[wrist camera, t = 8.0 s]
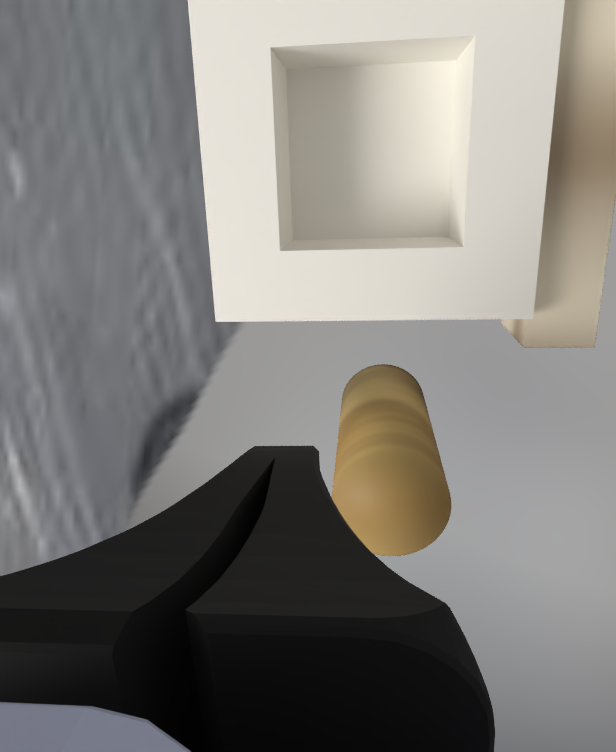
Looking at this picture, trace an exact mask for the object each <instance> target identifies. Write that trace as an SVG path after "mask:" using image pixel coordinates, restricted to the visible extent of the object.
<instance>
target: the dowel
mask: <svg viewBox="0 0 616 752" xmlns="http://www.w3.org/2000/svg"><path fill="white" fill-rule="evenodd" d="M332 500H333V502H334V503H335V505H336V507H337V508H338V510H339V512H340V513H341V515H342V517H343V518H344V520H345V521H346V522H347V524H348V525H349V527H350V528H351V529H352V531H353V532H354V533H355V534H356V536H357V537H358V538H359V539H360V540H361V541H362V543H363V544H364V545H365V546H366V547H367V548H368V549H369V550H370V551H371V552H372V553H373V554H377V555H383V556H401V555H407V554H410V553H414V552H417V551H419V550H421V549H423V548H425V547H426V546H428V545H430V544H431V543H432V542H433V541H435V540H436V539H437V538H438V537H439V536H440V534H441V533H442V532H443V530H444V529H445V527H446V525H447V523H448V520H449V517H450V513H451V497H450V492H449V489H448V485H447V481H446V478H445V474H444V470H443V467H442V463H441V459H440V455H439V452H438V448H437V444H436V440H435V437H434V434H433V429H432V426H431V422H430V419H429V415H428V411H427V407H426V403H425V400H424V396H423V393H422V389H421V387H420V386H419V383H418V382H417V381H416V379H415V378H414V377H413V376H412V375H411V374H409V373H408V372H407V371H405V370H403V369H401V368H399V367H396V366H392V365H374V366H370V367H367V368H365V369H363V370H361V371H360V372H358V373H357V374H355V375H354V376H353V377H352V378H351V379H350V381H349V382H348V384H347V385H346V387H345V389H344V392H343V397H342V405H341V414H340V424H339V433H338V443H337V453H336V462H335V472H334V482H333V491H332Z"/></svg>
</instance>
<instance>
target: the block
mask: <svg viewBox="0 0 616 752" xmlns="http://www.w3.org/2000/svg"><path fill="white" fill-rule="evenodd" d="M564 4H565V0H188V8H189V19H190V31H191V42H192V54H193V65H194V77H195V89H196V100H197V112H198V123H199V135H200V146H201V158H202V169H203V181H204V193H205V204H206V216H207V227H208V239H209V250H210V262H211V273H212V285H213V297H214V308H215V320H216V322H240V321H346V320H347V321H353V320H469V319H470V320H471V319H533V315H534V305H535V295H536V284H537V274H538V264H539V254H540V244H541V234H542V224H543V214H544V204H545V194H546V184H547V174H548V164H549V154H550V144H551V134H552V124H553V114H554V104H555V94H556V84H557V74H558V64H559V54H560V44H561V34H562V24H563V14H564Z"/></svg>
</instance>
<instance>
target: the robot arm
mask: <svg viewBox="0 0 616 752" xmlns="http://www.w3.org/2000/svg"><path fill="white" fill-rule="evenodd" d="M494 739H495V727H494V717H493V709H492V705H491V701H490V698H489V694H488V691H487V688H486V685H485V683H484V680H483V677H482V675H481V672H480V669H479V667H478V665H477V662H476V659H475V657H474V655H473V653H472V651H471V648H470V646H469V644H468V642H467V640H466V638H465V636H464V634H463V632H462V630H461V628H460V626H459V624H458V622H457V620H456V618H455V617H454V615H453V613H452V611H451V610H450V608H449V607H448V605H447V604H446V603H444V602H442V601H441V600H439V599H437V598H435V597H434V596H432V595H430V594H428V593H427V592H425V591H423V590H421V589H419V588H418V587H416V586H414V585H413V584H411V583H409V582H408V581H406V580H405V579H403V578H402V577H400V576H399V575H398V574H396V573H395V572H394V571H392V570H391V569H390V568H388V567H387V566H386V565H385V564H384V563H383V562H381V561H380V560H379V559H378V558H377V557H376V556H375V555H374V554H373V553H372V552H371V551H370V550H369V549H368V548H367V547H366V546H365V545H364V544H363V543H362V541H361V540H360V539H359V538H358V537H357V536H356V534H355V533H354V532H353V531H352V529H351V528H350V527H349V525H348V524H347V522H346V521H345V520H344V518H343V517H342V515H341V513H340V512H339V510H338V508H337V507H336V505H335V503H334V502H333V500H332V498H331V496H330V494H329V492H328V489H327V487H326V485H325V483H324V480H323V478H322V475H321V472H320V465H319V451H318V450H317V449H316V448H315V447H314V446H255V447H253V448H251V449H250V450H248V451H247V452H246V453H244V454H243V455H242V456H240V457H239V458H238V459H237V460H235V461H234V462H233V463H232V464H230V465H229V466H228V467H226V468H225V469H224V470H223V471H221V472H220V473H218V474H217V475H216V476H214V477H213V478H212V479H210V480H209V481H208V482H206V483H205V484H204V485H202V486H201V487H199V488H198V489H196V490H195V491H194V492H192V493H190V494H189V495H187V496H186V497H184V498H183V499H182V500H180V501H178V502H177V503H176V504H174V505H173V506H171V507H169V508H168V509H166V510H164V511H163V512H161V513H159V514H158V515H156V516H154V517H152V518H150V519H148V520H146V521H144V522H143V523H141V524H139V525H137V526H135V527H133V528H131V529H129V530H127V531H125V532H123V533H120V534H118V535H116V536H113V537H111V538H109V539H106V540H104V541H102V542H99V543H97V544H95V545H92V546H90V547H88V548H85V549H83V550H81V551H78V552H75V553H73V554H70V555H67V556H64V557H61V558H59V559H56V560H53V561H50V562H47V563H44V564H41V565H37V566H34V567H31V568H28V569H25V570H21V571H18V572H14V573H11V574H8V575H4V576H0V752H494Z"/></svg>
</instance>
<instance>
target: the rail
mask: <svg viewBox="0 0 616 752" xmlns="http://www.w3.org/2000/svg"><path fill="white" fill-rule="evenodd" d="M615 197H616V0H565V4H564V14H563V24H562V34H561V44H560V54H559V64H558V74H557V84H556V94H555V104H554V114H553V124H552V134H551V144H550V154H549V164H548V174H547V184H546V194H545V204H544V214H543V224H542V234H541V244H540V254H539V264H538V274H537V284H536V295H535V305H534V315H533V319H501V324H502V325H503V326H504V327H505V328H506V329H507V330H508V331H509V332H510V334H511V335H512V336H513V337H514V338H515V339H516V340H517V341H518V342H519V343H520V344H521V345H522V346H523V347H524V348H539V347H541V348H543V347H544V348H546V347H549V348H551V347H552V348H555V347H595V341H596V334H597V327H598V320H599V313H600V306H601V298H602V291H603V284H604V277H605V270H606V262H607V255H608V247H609V241H610V233H611V226H612V219H613V211H614V205H615Z"/></svg>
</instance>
